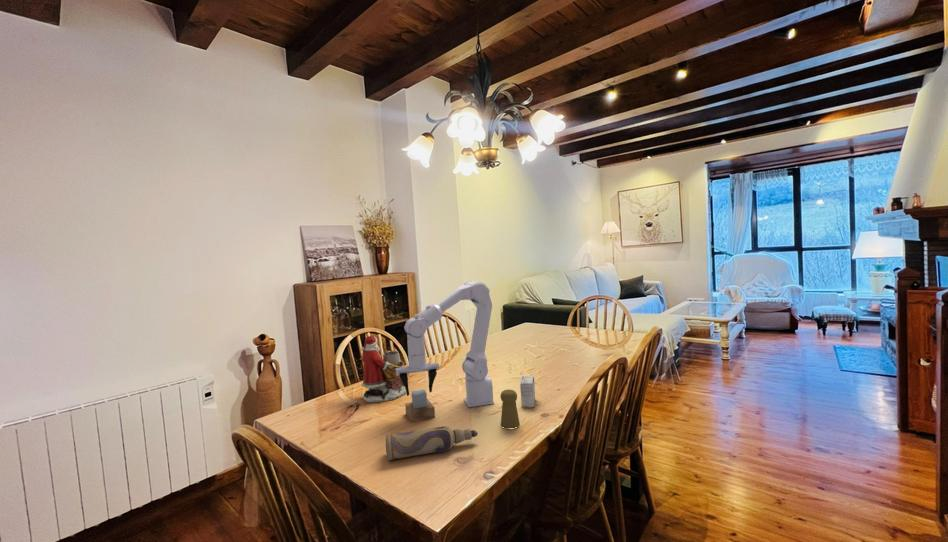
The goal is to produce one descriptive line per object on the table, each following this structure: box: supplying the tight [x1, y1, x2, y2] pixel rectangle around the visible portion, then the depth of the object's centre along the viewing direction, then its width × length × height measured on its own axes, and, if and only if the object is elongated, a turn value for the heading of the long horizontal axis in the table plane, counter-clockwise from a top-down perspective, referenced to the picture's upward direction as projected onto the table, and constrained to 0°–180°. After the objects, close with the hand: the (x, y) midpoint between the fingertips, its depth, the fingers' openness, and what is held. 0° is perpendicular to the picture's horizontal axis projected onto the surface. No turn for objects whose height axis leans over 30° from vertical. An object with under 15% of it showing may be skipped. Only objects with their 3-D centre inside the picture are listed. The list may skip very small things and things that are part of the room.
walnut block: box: [404, 398, 436, 424], centre depth 134 cm, size 8×8×4 cm
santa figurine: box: [360, 335, 407, 404], centre depth 154 cm, size 17×14×25 cm
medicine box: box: [519, 375, 536, 408], centre depth 140 cm, size 8×4×9 cm, turn 168°
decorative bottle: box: [385, 425, 478, 461], centre depth 110 cm, size 26×8×7 cm, turn 104°
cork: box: [500, 389, 521, 429], centre depth 123 cm, size 6×6×11 cm
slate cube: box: [410, 388, 428, 409], centre depth 134 cm, size 4×4×4 cm
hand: (419, 392), depth 134 cm, fingers open, 7 cm apart
